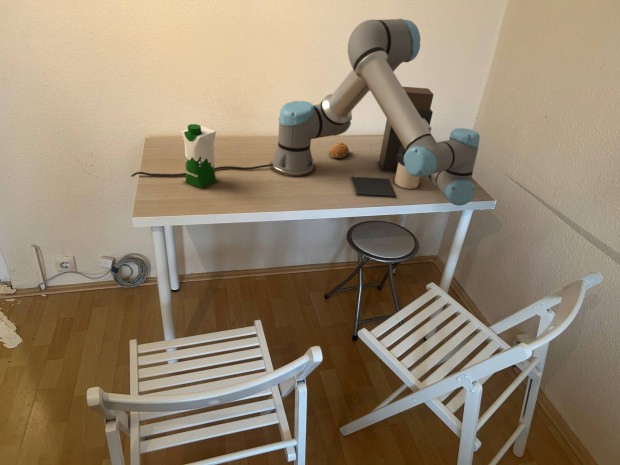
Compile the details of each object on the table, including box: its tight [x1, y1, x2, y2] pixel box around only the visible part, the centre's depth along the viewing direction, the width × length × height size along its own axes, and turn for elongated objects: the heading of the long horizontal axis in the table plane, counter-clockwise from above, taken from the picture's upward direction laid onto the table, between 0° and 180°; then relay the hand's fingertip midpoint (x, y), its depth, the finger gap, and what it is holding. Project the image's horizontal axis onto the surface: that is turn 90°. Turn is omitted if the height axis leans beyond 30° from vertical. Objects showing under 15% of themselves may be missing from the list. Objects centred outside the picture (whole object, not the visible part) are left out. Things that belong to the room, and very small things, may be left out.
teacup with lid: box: [394, 162, 421, 190], centre depth 170 cm, size 12×9×12 cm
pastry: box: [330, 142, 350, 159], centre depth 187 cm, size 9×7×4 cm
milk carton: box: [181, 123, 217, 189], centre depth 154 cm, size 9×9×20 cm
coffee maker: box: [378, 86, 434, 173], centre depth 171 cm, size 18×14×30 cm
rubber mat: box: [352, 176, 396, 198], centre depth 167 cm, size 13×13×1 cm
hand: (420, 149), depth 158 cm, fingers open, 13 cm apart
